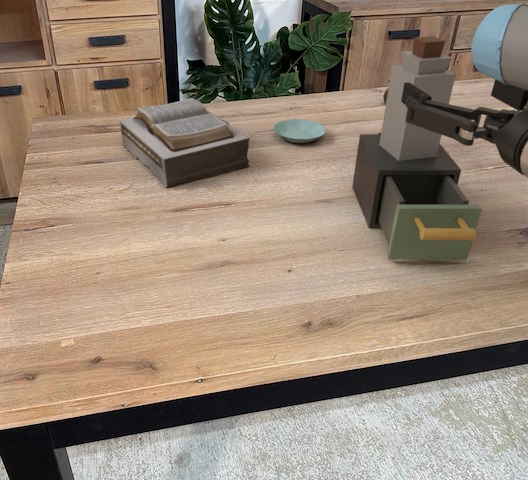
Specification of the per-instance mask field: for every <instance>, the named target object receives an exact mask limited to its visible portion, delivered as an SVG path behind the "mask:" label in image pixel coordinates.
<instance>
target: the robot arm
mask: <svg viewBox="0 0 528 480" xmlns="http://www.w3.org/2000/svg"><path fill="white" fill-rule="evenodd" d="M470 53H471V60H472V63H473V65H474V68H475V69H476V70H477V71H478V72H479V73H481V74H482V75H485V76H487V77H488V78H491V79H494V82H493V85H492V89H491V93H490V96H491V97H493V98H494V99H496V100H498V101H500V102H502V103H503V104H505V105H506V106H509V107H511V108H512V109H511V110H509V109H505V108H504V109H503V108H502V109H494V108H489V107H484V106H478V107H476V108H475V109H473V108H469V107H464V106H460V105H455V104H450V103H449V104H446V103H441V102H436V101H431V99H432V97H431V96H429V95H428V94H426V93H425V92H423V91H422V90H420V89H419V88H417V87H416V86H414V85H413V84H411V83H410V82H407V83H404V88H403V93H402V99H401V102H402V103H404V104H405V105H406V107H407V108H408V109H407V114H406V120H405V122H407V123H410V124H413V125H415V126H418V127H421V128H424V129H427V130H430V131H432V132H435V133H438V134H441V136H444V137H447V138H450V139H453V140H455V141H456V142H458V143H459V144H461V145H463V146H465V147H470V146H471V147H472V146H473V145H474V142H475V140H476V139H481V140H484V141H486V142H489V143H490V144H493V145H495V147H496V150H497V152H498V155H499V157H500V159H501V160H502V161H503V163H505V164H506V165H508V166H509V167H510V168H512V170H515V171H516V172H517V173H519V174H520V175H522V176H524V177H525V178H527V179H528V4H527V3H523V2H522V3H516V4H515V3H506V4H503V5H500V6H497V7H496V8H494V9H492V10H491V11H490V12H489V13H488V14H487V15H486V16H485V17H484V18H483V20H482V21H481V22H480V24H479V25H478V27H477V29H476V31H475V33H474V36H473V39H472V42H471V52H470ZM482 116H486V117H485V119H484V122H483V125H482V126H480V123H481V119H482Z"/></svg>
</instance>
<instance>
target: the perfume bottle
mask: <svg viewBox="0 0 528 480" xmlns="http://www.w3.org/2000/svg"><path fill="white" fill-rule="evenodd" d="M445 44H446V40H444V39H441V38H440V37H437V36H434V35H433V36H418V37H417V36H416V37H413V43H412V50H405V51H400V55H401V62H402V63H401V64H395V65H394V64H393V65H391V72H390V78H389V80H390V82H388V83H389V84H388V88H389V89H388V88H387V89H388V95H387V101H386V105H385V106H384V107H385V108H384V113H383V119H382V125H381V131H380V132H381V137H380V143H379V145H380V146H381V147H382V148H383V149H385V150H386V151H387V152H388V153H390V154H391V155H392V156H393V157H395V158H396V159H397V160H398V161H403V160H412V159H420V158H429V157H436V156H437V152H438V148H439V144H440V145H441V139H442V135H441V134H438V133H435V132H432V131H430V130H427V129H424V128H421V127H418V126H415V125H413V124H410V123H407V122H405V120H406V114H407V109H408V108H407V107H406V105H405V104H404V103H402V102H401V99H402V93H403V88H404V83H407V82H410V83H411V84H413V85H414V86H416V87H417V88H419V89H420V90H422V91H423V92H425V93H426V94H428V95H429V96H431V97H432V99H431V101H436V102H441V103H446V104H450V102H451V97H452V92H453V88H454V83H455V79H456V75H457V73H455V72H453V71H451V70H448V68H449V65H451V62H452V60H453V57H451V56H450V55H447V54H445V53H443V50H444V47H445Z"/></svg>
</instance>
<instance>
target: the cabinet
mask: <svg viewBox="0 0 528 480" xmlns="http://www.w3.org/2000/svg"><path fill="white" fill-rule="evenodd" d="M380 137H381V134H378V133H367V134H365V133H364V134H363V133H360V134H359V138H358V145H357V151H356V159H355V165H354V172H353V180H352V186H351V187H352V191H353V193H354V195H355V197H356V200H357V203H358V205H359V207H360V210H361V212H362V216H363V217H364V220H365V222H366V224H367V228H368V229H382V228H381V226H380V224H379V222H378V219H377V217H376V215H377V209H378V203H379V198H380V192H381V186H382V181H383V175H449V176H450V177H451V178H452V179H453V181H454V182H455V183H456V185H457V186H458V185H459V181H460V177H461V174H462V169H461V168H460V167H459V165H458V164H457V163H456V161H455V160H454V159H453V158H452V156H451V155H450V154H449V153H448V152H447V150H446V149H445V148H444V147H443V146H442V145H441V143H440V144H439V148H438V152H437V156H436V157H429V158H420V159H412V160H403V161H398V160H397V159H396V158H395V157H393V156H392V155H391V154H390V153H388V152H387V151H386V150H385V149H383V148H382V147H381V146H380V145H379V143H380Z"/></svg>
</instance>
